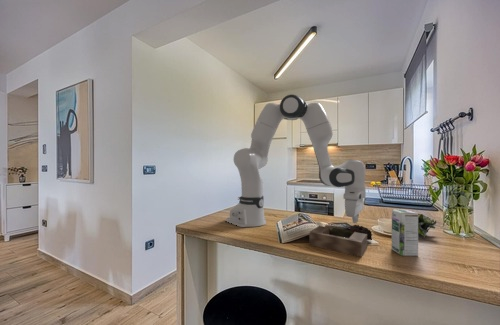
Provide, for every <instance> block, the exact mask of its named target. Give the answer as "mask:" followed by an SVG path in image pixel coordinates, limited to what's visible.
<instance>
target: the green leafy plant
mask: <svg viewBox="0 0 500 325" xmlns="http://www.w3.org/2000/svg"><path fill="white" fill-rule="evenodd" d="M417 213H418V234H419V235H422V237H423V238H422V240H425V237H426V235H427V233H429V231H430V229H434V230H435V229H436V226H435V225H437V220H435V219H433V218H432V219H431V217H430V216H426V215H425V214H423V213H419V212H417Z"/></svg>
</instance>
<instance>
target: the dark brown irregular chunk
mask: <svg viewBox="0 0 500 325" xmlns="http://www.w3.org/2000/svg"><path fill="white" fill-rule="evenodd" d="M324 227H329V235H334V236H339V237H346V238H350V237H351V235H352V234H353V233H354V232H357V233H363V234H367V241H373V238H372V235H373V233H372V231H371V230H370V229H369V228H367V227H365V226H363V225H359V224H353V225H352V226H350V227H341V226H335V225H327V224H326V225H325V226H324Z"/></svg>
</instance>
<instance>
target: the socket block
mask: <svg viewBox="0 0 500 325" xmlns="http://www.w3.org/2000/svg"><path fill="white" fill-rule="evenodd" d="M308 234H309V239H308V240H309V243H308V244H309V246H311V247H312V246H313V247H315V248H321V249H325V250H328V251H332V252H333V251H334V252H336V253H337V252H338V253H342V254H346V255H350V256H354V257H357V258H362V257H363V256H364V254H365V252H366V251H367V249H368V240H367V234H363V233H357V232H354V233H353V234H352V235H351V237H350V238H344V237H339V236H334V235H329V227H325V226H322V225H318V226H317V227H315V228H313V229H312V230H310V231H309V232H308Z"/></svg>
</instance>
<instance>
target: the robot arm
mask: <svg viewBox="0 0 500 325" xmlns="http://www.w3.org/2000/svg"><path fill="white" fill-rule="evenodd" d="M283 120H288V121H295V120H301V121H302V122H303V123H304V127H305V130H306V132H307V135H308V137H309V140H310V143H311V145H312V148H313V150H314V156H315V157H316V158H315V159H316V162H317V164H318V178H319V181H320V182H321V184H323V185H324V186H327V187H328V186H330V187H334V188H342V187H344V193H343V197H342V198H343V200H344V210H345V211H344V212H345V215H346V217H350V218H352V223H353V224H357V223H358V222H359V214H360V213H361V212H363V210H364V199H367V198H366V197H367V195H366V185H365V182H366V168H365V163H364V162H363V161H362V160H357V159H346V161H344V162H343V163H341V164H339V165H336V166H334V165H333V164H332V161H331V158H330V154H329V150H328V145H329V143H330V141H331V139H332V138H333V134H334V133H333V128H332V127H333V126H332V124H331V122H330V119H329V116H328V114H327V112H326V111H325V109H324V107H323V106H322V104H320V103H319V102H310V103H308V102H306V101H305V100H304V99H303V98H302V97H300V96H298V95H296V94H293V93H291V94H287V95H285V96H284V97H283V98H282V99H281V100H280V103H279V104H277V103H274V102H268V103H266V104H265V106H264V107H263V108H262V110H261V111H260V113H259V115H258V117H257V119H256V121H255V123H254V124H255V125H254V126H253V129H252V130H251V134H250V137H251V143H250V147H249V148H248V147H244V148H241V149H238V150H237V151H236V152H235V153H234V154H233V163H234V165H235V167H236V168H237V170H238V173H239V177H240V178H239V179H240V182H241V184H240V185H241V196H238V197H237V200H239V202H238V203H237V204H236V205H235V206H233V207H232V208H231V209H230V210H229V217H227V218H225V220H224V222H225V221H227V222H226V223H228V222H229V223H228V224H231V223H232V224H231V225H234V226H236V225H237V227H239V228H247V227H249V228H250V227H251V228H252V227H253V228H254V227H260V226H264V225H266V224H267V221H266V218H265V217H266V216H265V211H264V204H265V203H264V195H263V192H264V191H263V190H264V189H263V184H264V182H263V179H262V178H261V175H260V172H259V171H260V170H261V169H262V168H264V167H265V166H266V165H267V164H268V161H269V157H268V156H269V151H270V147H271V144H272V141H273V139H274V136H275V135H276V132H277V130H278V128H279V125H280V123H281V122H282V121H283Z"/></svg>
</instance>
